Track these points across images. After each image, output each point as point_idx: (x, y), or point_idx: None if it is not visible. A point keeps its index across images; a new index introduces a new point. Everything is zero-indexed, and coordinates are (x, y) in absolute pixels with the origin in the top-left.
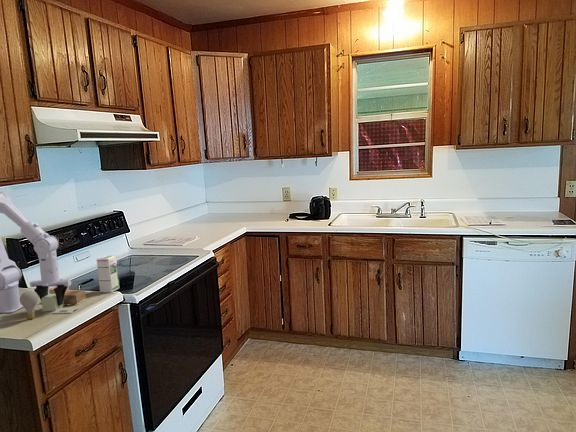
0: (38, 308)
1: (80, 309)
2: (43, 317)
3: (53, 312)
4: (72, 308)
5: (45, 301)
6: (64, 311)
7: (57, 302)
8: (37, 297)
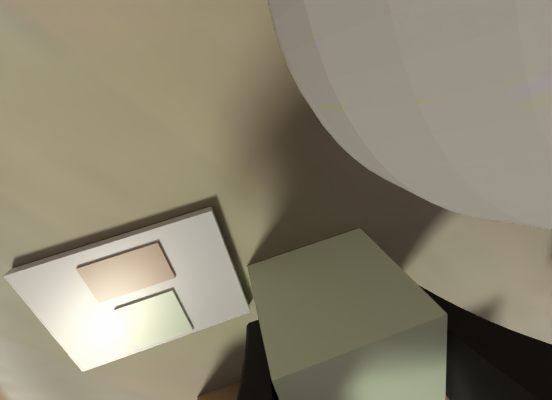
0: (438, 258)
1: (49, 358)
2: (209, 101)
3: (206, 219)
4: (120, 341)
5: (374, 298)
6: (104, 267)
7: (263, 343)
8: (308, 65)
